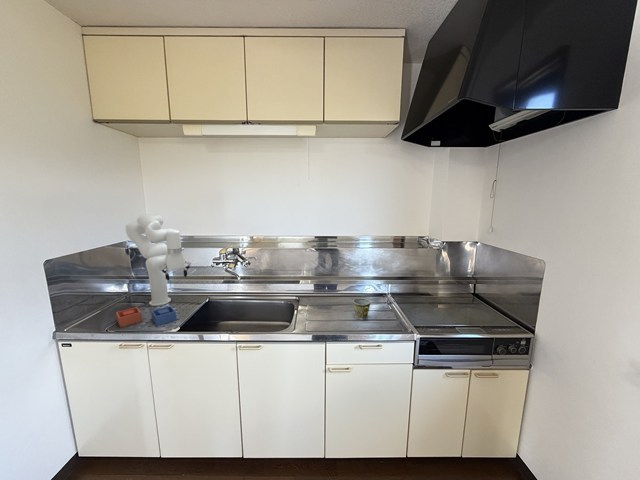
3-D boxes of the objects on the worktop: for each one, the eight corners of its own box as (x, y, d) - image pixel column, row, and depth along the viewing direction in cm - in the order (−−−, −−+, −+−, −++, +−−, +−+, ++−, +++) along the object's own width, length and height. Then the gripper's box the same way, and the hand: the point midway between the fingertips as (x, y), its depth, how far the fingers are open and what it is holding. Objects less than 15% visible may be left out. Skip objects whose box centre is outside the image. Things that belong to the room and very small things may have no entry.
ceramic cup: (349, 315, 163) (350, 299, 161) (364, 312, 166) (364, 297, 165) (360, 324, 151) (361, 308, 149) (376, 321, 154) (376, 305, 153)
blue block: (158, 319, 157) (157, 310, 156) (167, 316, 160) (166, 308, 160) (160, 322, 154) (159, 313, 153) (170, 319, 157) (169, 311, 156)
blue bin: (152, 319, 157) (151, 310, 156) (171, 314, 164) (170, 305, 163) (156, 325, 150) (155, 316, 149) (176, 320, 157) (175, 311, 156)
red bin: (117, 321, 156) (116, 312, 155) (138, 315, 163) (137, 306, 162) (120, 327, 148) (118, 318, 147) (141, 321, 155) (140, 312, 154)
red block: (123, 320, 156) (122, 312, 155) (133, 317, 159) (132, 309, 158) (125, 323, 152) (123, 315, 151) (135, 320, 155) (134, 312, 154)
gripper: (187, 247, 171) (189, 273, 174) (156, 251, 159) (159, 279, 162) (191, 250, 165) (193, 276, 168) (159, 254, 154) (162, 282, 157)
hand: (176, 278), depth 165 cm, fingers open, 9 cm apart
